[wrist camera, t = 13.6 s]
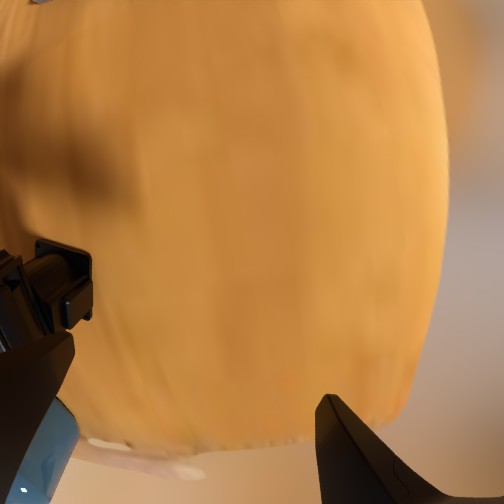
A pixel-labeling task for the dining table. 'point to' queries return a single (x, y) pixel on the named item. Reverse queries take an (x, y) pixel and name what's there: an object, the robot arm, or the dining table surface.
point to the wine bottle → (45, 457)
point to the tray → (41, 1)
